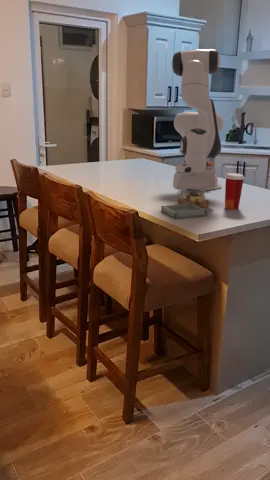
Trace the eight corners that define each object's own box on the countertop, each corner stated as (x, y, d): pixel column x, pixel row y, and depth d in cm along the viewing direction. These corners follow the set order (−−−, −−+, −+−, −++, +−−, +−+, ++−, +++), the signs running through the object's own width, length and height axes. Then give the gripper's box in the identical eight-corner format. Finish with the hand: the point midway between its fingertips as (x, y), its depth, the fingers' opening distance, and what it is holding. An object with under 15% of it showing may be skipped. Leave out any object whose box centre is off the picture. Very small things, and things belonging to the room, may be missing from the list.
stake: (196, 198, 196) (196, 190, 195) (197, 199, 195) (198, 191, 193) (187, 199, 194) (188, 191, 193) (189, 199, 193) (189, 192, 192)
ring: (182, 197, 197) (182, 192, 196) (194, 196, 199) (195, 191, 199) (193, 202, 188) (194, 197, 188) (206, 201, 191) (206, 196, 190)
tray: (191, 208, 190) (191, 203, 189) (206, 215, 179) (207, 210, 178) (161, 211, 184) (161, 205, 183) (175, 219, 173) (175, 213, 173)
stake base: (196, 202, 202) (197, 196, 201) (208, 207, 193) (209, 200, 192) (177, 203, 198) (178, 197, 197) (189, 209, 189) (189, 202, 188)
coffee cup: (238, 205, 197) (241, 173, 193) (243, 210, 190) (246, 176, 185) (220, 205, 197) (223, 172, 192) (224, 210, 189) (227, 176, 184)
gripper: (211, 165, 197) (209, 194, 201) (172, 166, 189) (170, 197, 193) (219, 167, 191) (216, 197, 196) (179, 169, 183) (177, 201, 188)
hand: (193, 197), depth 194 cm, fingers closed on ring, 6 cm apart
